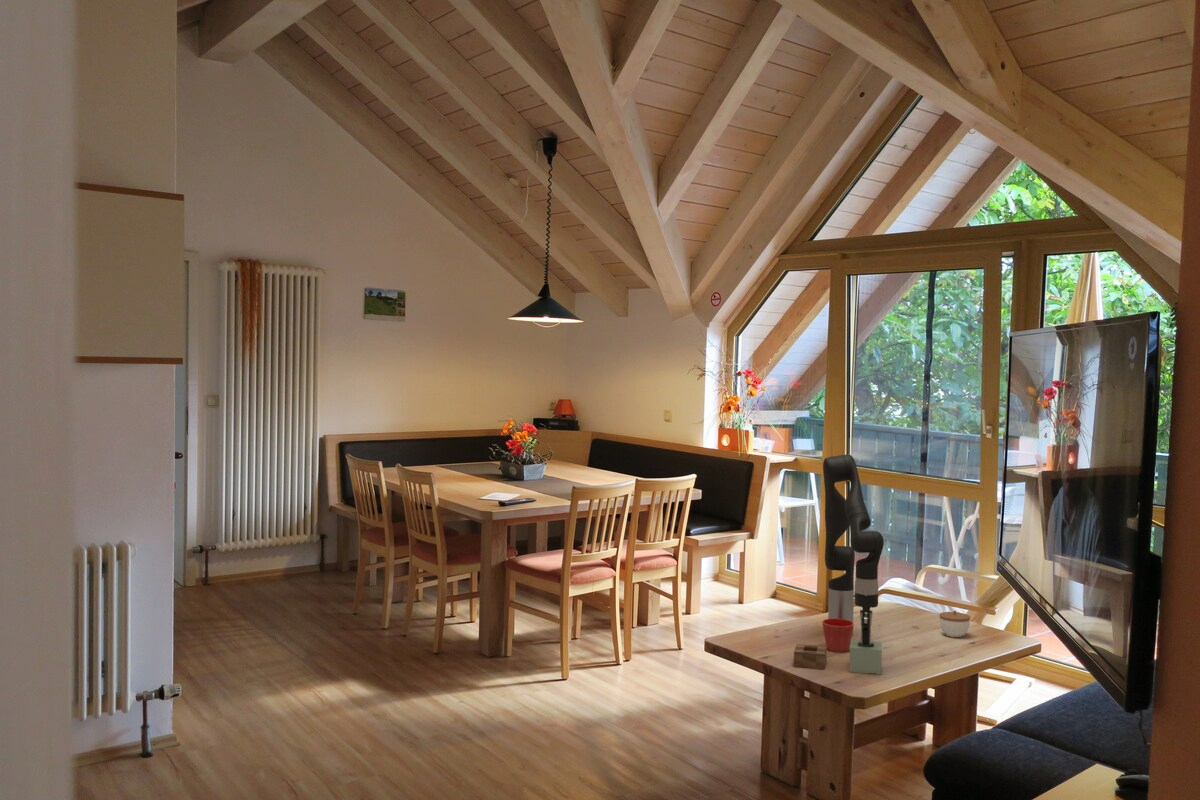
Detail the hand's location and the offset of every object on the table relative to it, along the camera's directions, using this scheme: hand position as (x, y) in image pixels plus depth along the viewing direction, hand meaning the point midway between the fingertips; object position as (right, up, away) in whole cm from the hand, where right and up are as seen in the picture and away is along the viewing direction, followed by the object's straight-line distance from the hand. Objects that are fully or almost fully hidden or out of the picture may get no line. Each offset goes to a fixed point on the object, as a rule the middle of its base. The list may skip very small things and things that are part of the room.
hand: (865, 642), depth 314 cm
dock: (0, -9, 0) cm, 9 cm away
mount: (-17, -8, +5) cm, 20 cm away
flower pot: (-3, -8, +23) cm, 25 cm away
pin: (0, -7, 0) cm, 7 cm away
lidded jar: (+45, -8, +42) cm, 62 cm away
